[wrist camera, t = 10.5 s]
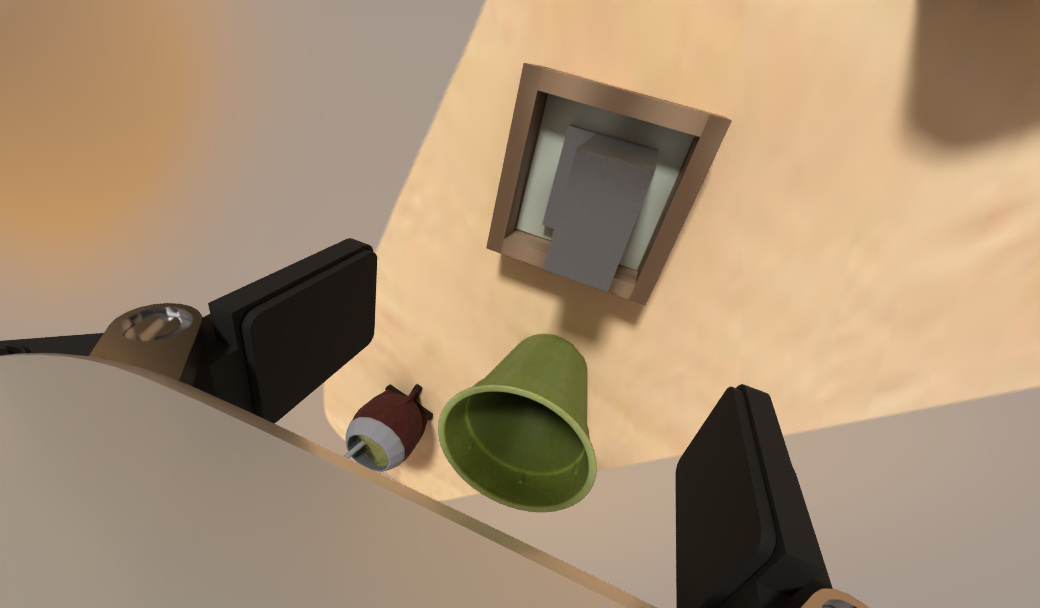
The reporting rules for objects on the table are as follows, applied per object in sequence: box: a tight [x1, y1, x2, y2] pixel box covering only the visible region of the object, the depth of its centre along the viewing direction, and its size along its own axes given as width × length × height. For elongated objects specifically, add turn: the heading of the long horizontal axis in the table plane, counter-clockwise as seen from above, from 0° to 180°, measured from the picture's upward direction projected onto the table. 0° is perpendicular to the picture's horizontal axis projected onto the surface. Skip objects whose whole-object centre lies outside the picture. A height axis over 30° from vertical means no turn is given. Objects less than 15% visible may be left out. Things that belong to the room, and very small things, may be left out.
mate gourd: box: [344, 384, 433, 472], centre depth 41 cm, size 8×8×15 cm
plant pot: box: [438, 334, 597, 512], centre depth 34 cm, size 12×12×11 cm
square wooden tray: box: [486, 63, 731, 305], centre depth 28 cm, size 12×12×4 cm
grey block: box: [542, 124, 659, 292], centre depth 25 cm, size 6×7×8 cm
